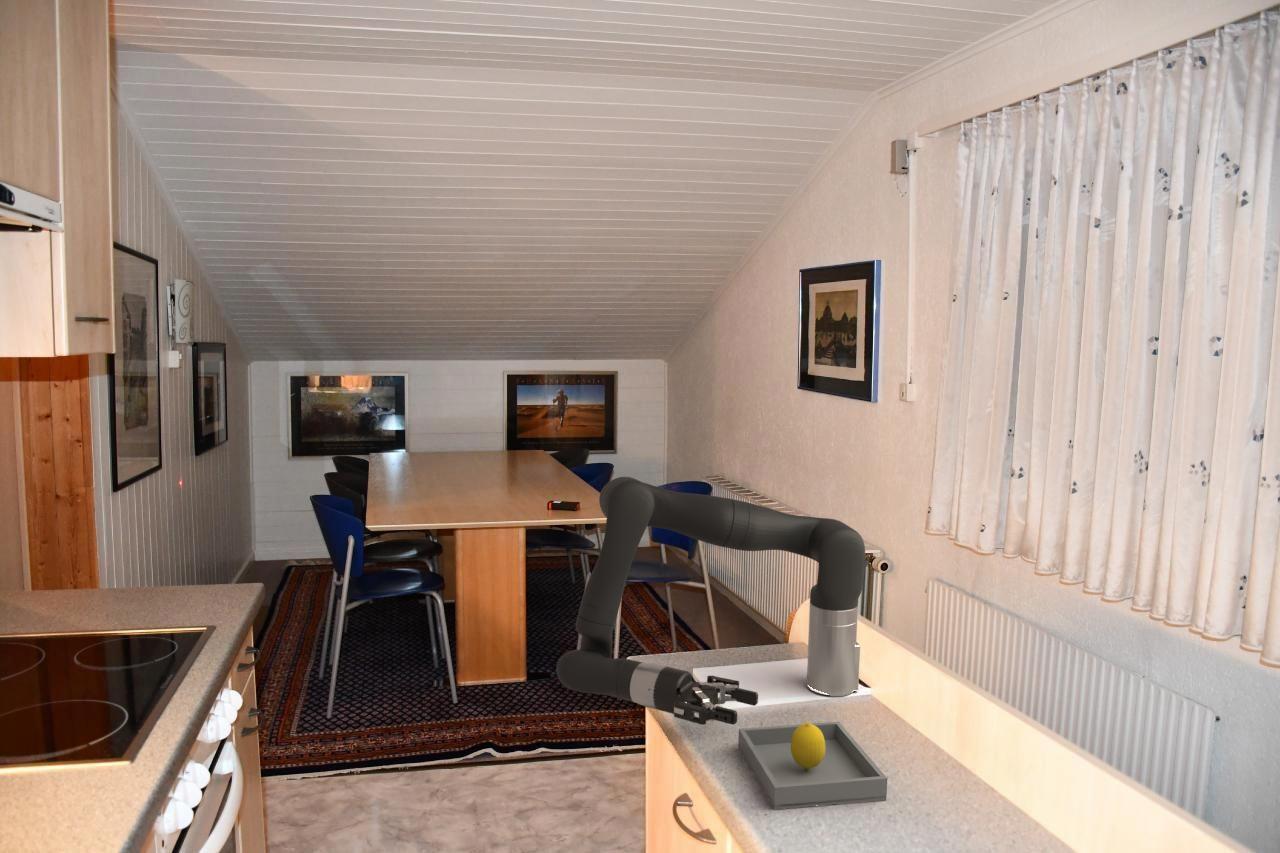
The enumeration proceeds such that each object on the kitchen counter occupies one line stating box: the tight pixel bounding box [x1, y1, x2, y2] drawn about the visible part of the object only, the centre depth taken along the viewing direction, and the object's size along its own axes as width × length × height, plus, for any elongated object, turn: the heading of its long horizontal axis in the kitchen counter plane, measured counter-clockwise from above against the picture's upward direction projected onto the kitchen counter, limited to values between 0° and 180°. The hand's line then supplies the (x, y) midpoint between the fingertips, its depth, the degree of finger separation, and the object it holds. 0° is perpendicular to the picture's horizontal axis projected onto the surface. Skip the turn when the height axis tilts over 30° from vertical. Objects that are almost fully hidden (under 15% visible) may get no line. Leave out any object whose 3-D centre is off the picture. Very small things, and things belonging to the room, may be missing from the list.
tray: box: [737, 721, 888, 810], centre depth 160 cm, size 18×20×4 cm
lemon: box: [791, 722, 825, 770], centre depth 159 cm, size 6×6×8 cm
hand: (747, 708), depth 165 cm, fingers open, 8 cm apart
